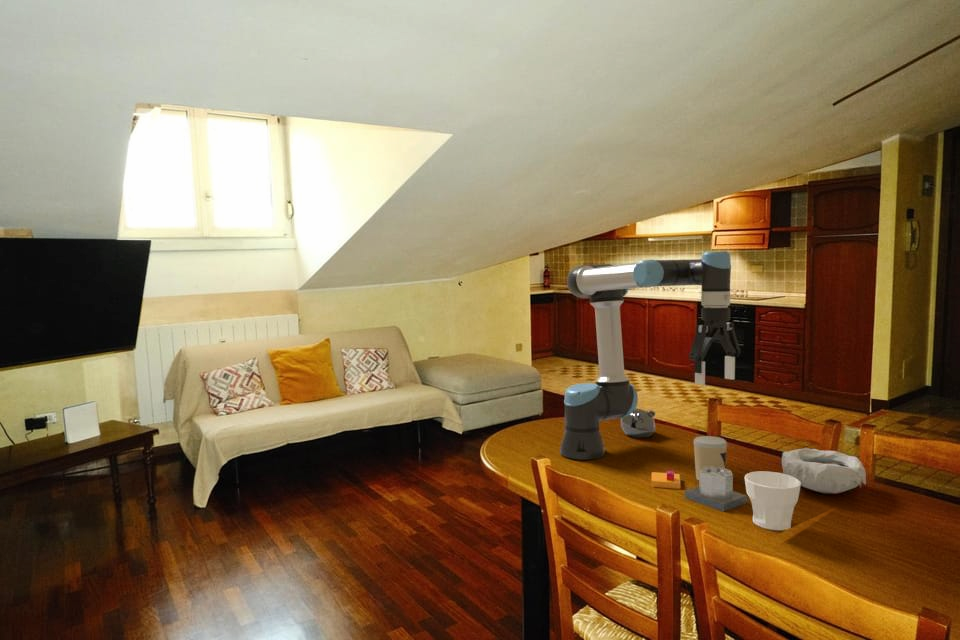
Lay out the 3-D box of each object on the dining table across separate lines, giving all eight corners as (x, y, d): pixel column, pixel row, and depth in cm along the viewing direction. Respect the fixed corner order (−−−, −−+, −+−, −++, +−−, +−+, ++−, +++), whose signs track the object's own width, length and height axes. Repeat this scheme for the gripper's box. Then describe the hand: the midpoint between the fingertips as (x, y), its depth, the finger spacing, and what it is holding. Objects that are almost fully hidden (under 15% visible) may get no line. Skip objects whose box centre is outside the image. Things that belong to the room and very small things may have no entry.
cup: (774, 538, 138) (775, 491, 138) (732, 518, 150) (733, 475, 149) (812, 528, 143) (813, 483, 143) (768, 509, 155) (769, 468, 154)
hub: (719, 500, 156) (719, 478, 156) (693, 491, 163) (693, 470, 162) (737, 494, 161) (738, 472, 160) (711, 485, 167) (711, 464, 167)
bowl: (795, 473, 182) (796, 440, 181) (874, 489, 167) (875, 454, 167) (770, 491, 168) (770, 456, 167) (853, 511, 153) (854, 472, 152)
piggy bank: (642, 446, 213) (642, 415, 212) (612, 437, 225) (612, 407, 225) (664, 441, 218) (664, 410, 218) (634, 432, 231) (634, 403, 230)
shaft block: (684, 497, 164) (684, 471, 164) (707, 490, 170) (707, 464, 169) (723, 511, 154) (724, 483, 154) (746, 502, 160) (746, 475, 159)
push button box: (651, 488, 173) (651, 474, 173) (651, 479, 181) (651, 465, 181) (680, 490, 171) (680, 476, 171) (679, 481, 179) (679, 467, 178)
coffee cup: (729, 485, 173) (730, 444, 172) (695, 484, 175) (696, 443, 174) (723, 474, 182) (723, 436, 181) (691, 473, 184) (691, 435, 183)
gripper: (698, 309, 157) (698, 389, 159) (754, 305, 171) (753, 378, 173) (675, 308, 164) (675, 385, 165) (730, 304, 177) (729, 375, 179)
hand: (715, 381), depth 169 cm, fingers open, 13 cm apart
